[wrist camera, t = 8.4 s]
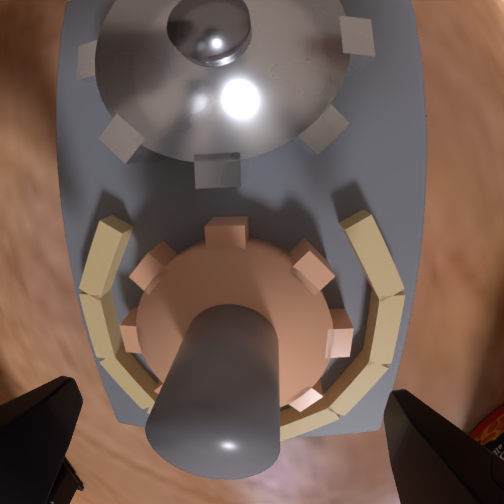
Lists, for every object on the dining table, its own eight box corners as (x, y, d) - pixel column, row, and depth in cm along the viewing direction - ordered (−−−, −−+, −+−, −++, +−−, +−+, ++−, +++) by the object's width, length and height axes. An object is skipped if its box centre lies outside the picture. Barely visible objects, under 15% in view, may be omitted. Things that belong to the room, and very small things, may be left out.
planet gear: (154, 394, 14) (111, 493, 8) (120, 220, 11) (11, 280, 5) (332, 399, 13) (353, 510, 7) (351, 215, 11) (429, 282, 5)
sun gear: (116, 187, 11) (61, 203, 7) (120, -13, 8) (78, -51, 5) (356, 180, 10) (393, 192, 7) (340, -32, 8) (359, -83, 4)
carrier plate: (125, 408, 16) (112, 434, 14) (79, 10, 10) (54, -5, 7) (374, 414, 15) (383, 443, 13) (395, -13, 9) (414, -35, 7)
